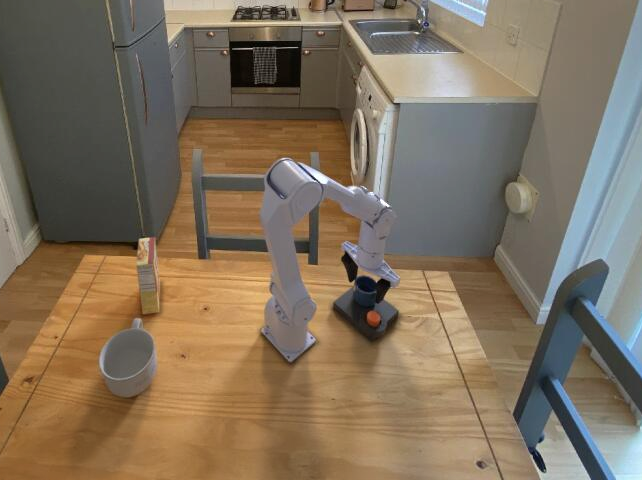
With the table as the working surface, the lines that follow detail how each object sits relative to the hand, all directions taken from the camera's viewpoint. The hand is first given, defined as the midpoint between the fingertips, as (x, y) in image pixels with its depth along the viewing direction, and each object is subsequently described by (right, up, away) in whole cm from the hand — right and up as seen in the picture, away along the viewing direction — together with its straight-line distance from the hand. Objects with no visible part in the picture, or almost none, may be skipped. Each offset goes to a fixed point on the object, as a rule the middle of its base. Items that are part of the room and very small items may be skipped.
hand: (365, 290), depth 99 cm
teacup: (-51, -11, -12) cm, 54 cm away
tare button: (0, -4, -6) cm, 7 cm away
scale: (0, -5, 0) cm, 5 cm away
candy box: (-51, -4, +4) cm, 52 cm away
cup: (0, -3, +1) cm, 3 cm away
